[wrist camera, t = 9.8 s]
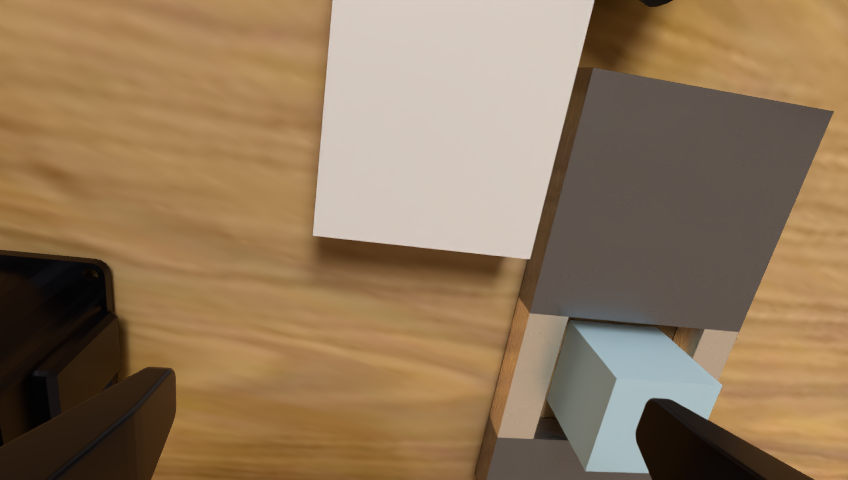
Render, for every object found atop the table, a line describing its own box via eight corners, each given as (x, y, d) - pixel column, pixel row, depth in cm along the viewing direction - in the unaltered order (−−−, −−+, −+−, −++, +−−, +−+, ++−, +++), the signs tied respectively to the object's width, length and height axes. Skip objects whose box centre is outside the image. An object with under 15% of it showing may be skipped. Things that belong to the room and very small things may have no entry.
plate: (475, 473, 24) (481, 498, 23) (575, 67, 18) (593, 67, 16) (649, 479, 26) (665, 502, 24) (799, 108, 19) (833, 111, 18)
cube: (545, 398, 23) (585, 471, 19) (568, 318, 22) (616, 378, 17) (628, 403, 24) (684, 474, 20) (655, 326, 22) (722, 385, 18)
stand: (319, 214, 19) (312, 235, 16) (345, -74, 15) (340, -100, 13) (510, 237, 20) (530, 259, 17) (571, -26, 17) (604, -42, 14)
